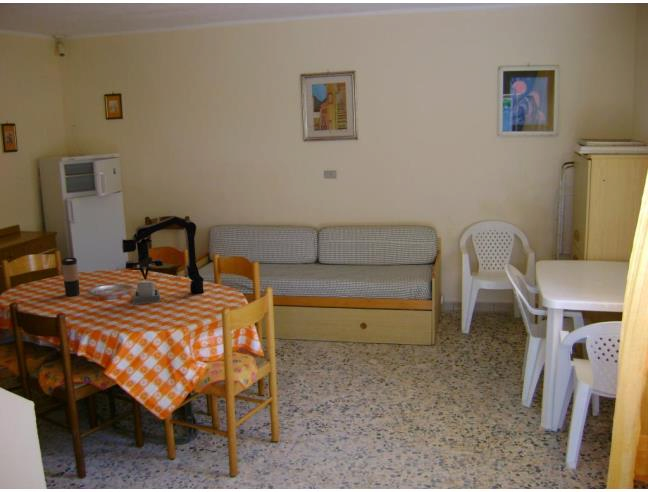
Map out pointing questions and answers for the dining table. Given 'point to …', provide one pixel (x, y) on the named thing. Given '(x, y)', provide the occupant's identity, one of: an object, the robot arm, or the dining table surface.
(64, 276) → the travel mug
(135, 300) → the caddy
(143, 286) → the medicine box
